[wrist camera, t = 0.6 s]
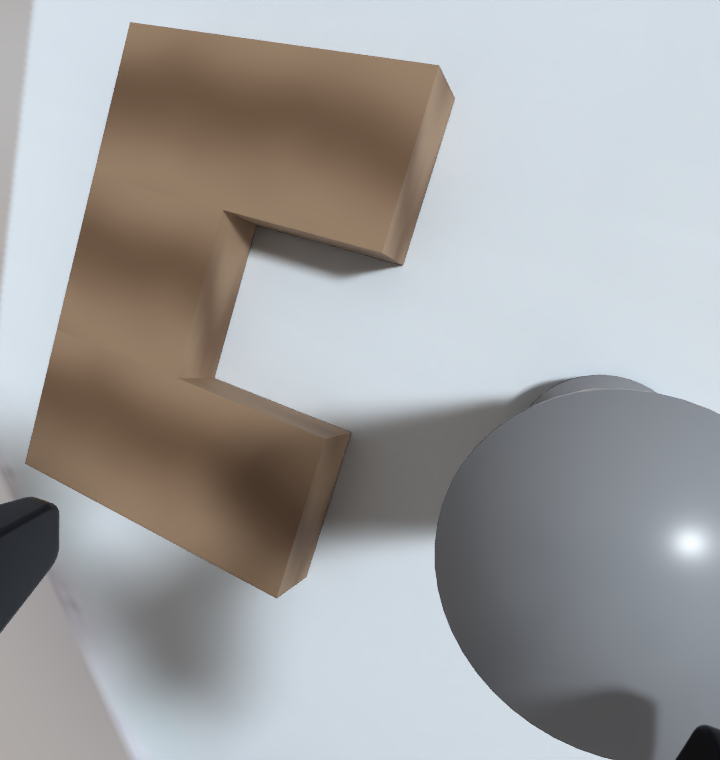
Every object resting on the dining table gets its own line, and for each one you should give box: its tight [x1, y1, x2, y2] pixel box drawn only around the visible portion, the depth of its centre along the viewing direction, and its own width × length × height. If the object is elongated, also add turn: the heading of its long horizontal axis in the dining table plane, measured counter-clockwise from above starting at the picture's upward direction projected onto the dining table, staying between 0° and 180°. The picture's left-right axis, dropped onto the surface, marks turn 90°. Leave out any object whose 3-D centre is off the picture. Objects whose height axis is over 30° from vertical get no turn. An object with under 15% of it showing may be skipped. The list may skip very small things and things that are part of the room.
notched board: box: [25, 22, 455, 598], centre depth 24 cm, size 20×14×2 cm
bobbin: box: [435, 375, 720, 760], centre depth 14 cm, size 6×6×13 cm
